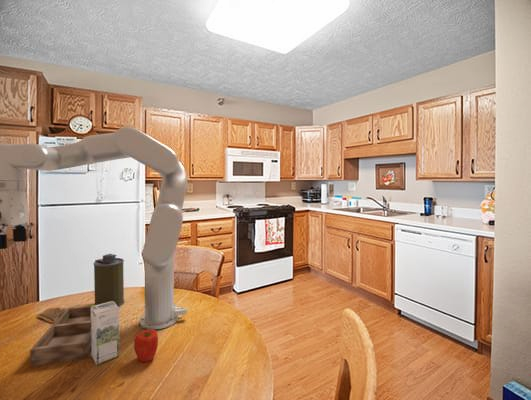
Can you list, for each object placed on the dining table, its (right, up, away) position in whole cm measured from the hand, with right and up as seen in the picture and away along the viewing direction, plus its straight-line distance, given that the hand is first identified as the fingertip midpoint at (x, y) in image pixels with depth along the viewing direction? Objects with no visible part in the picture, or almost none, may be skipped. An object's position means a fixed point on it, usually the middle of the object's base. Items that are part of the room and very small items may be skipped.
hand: (10, 244), depth 80 cm
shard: (-1, -29, +19) cm, 35 cm away
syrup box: (+30, -31, -4) cm, 43 cm away
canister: (+13, -29, +28) cm, 42 cm away
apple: (+42, -31, -5) cm, 52 cm away
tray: (+16, -30, +5) cm, 34 cm away
